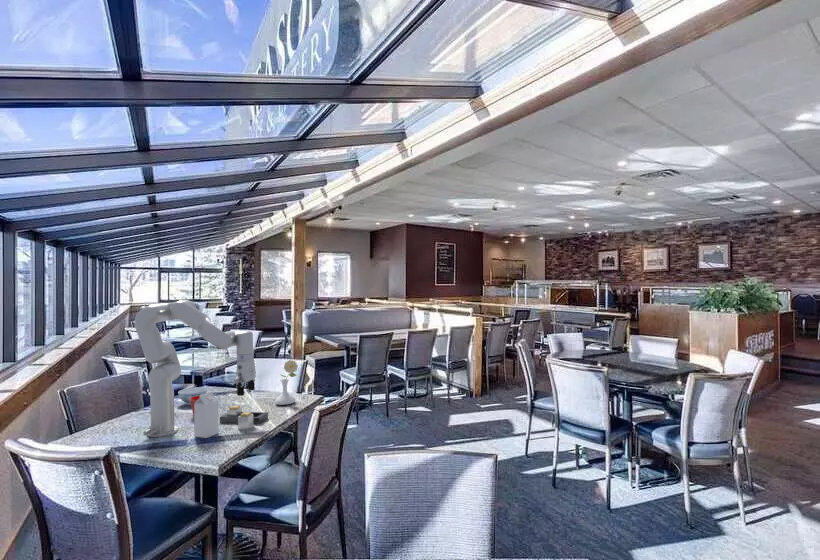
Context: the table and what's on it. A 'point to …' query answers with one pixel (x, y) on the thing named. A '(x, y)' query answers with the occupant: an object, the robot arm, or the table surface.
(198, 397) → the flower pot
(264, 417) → the dark grey slotted board
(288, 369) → the flower in vase
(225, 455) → the table surface
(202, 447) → the table surface
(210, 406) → the milk carton
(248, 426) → the grey and tan block
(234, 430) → the table surface
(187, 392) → the chinaware
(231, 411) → the tan topped grey block
